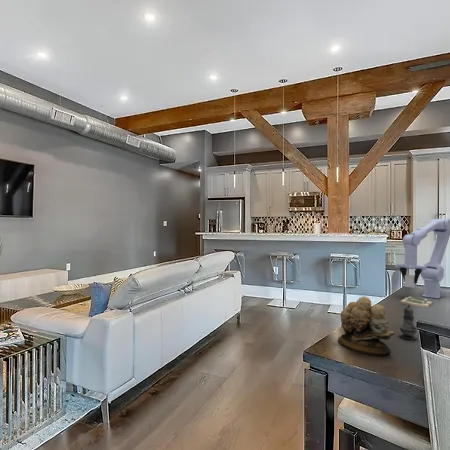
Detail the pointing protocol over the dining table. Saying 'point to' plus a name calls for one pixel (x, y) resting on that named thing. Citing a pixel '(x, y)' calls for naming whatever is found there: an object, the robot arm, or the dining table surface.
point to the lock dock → (416, 302)
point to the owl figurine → (365, 328)
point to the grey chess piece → (408, 324)
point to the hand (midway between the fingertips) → (410, 282)
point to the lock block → (410, 281)
